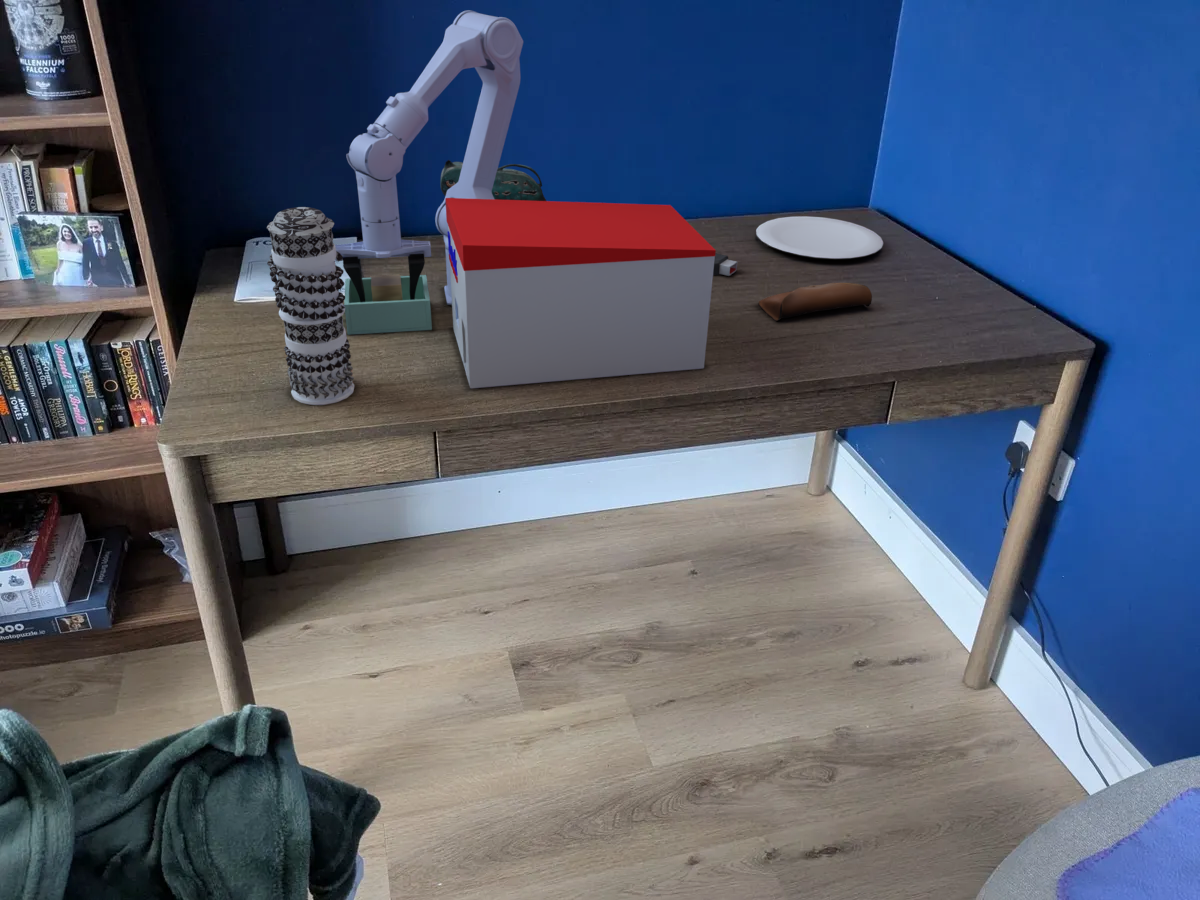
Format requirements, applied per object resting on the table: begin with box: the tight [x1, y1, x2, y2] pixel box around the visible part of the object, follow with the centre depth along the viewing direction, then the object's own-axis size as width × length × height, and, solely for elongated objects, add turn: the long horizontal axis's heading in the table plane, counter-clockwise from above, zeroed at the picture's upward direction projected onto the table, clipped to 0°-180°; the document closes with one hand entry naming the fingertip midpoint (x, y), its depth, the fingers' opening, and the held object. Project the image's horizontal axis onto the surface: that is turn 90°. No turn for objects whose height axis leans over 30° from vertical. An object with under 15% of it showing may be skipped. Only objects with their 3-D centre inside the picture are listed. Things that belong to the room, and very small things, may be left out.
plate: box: [755, 215, 884, 261], centre depth 190 cm, size 25×25×2 cm
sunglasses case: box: [757, 282, 873, 321], centre depth 161 cm, size 18×7×7 cm, turn 113°
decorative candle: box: [266, 206, 355, 406], centre depth 125 cm, size 9×9×25 cm
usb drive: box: [713, 252, 738, 277], centre depth 176 cm, size 5×12×3 cm, turn 58°
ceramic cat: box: [439, 159, 547, 201], centre depth 176 cm, size 20×6×20 cm, turn 104°
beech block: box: [370, 273, 403, 302], centre depth 152 cm, size 5×5×6 cm
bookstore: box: [444, 197, 717, 389], centre depth 140 cm, size 21×35×21 cm, turn 104°
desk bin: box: [343, 274, 433, 336], centre depth 152 cm, size 13×11×5 cm
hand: (387, 300), depth 152 cm, fingers open, 7 cm apart
